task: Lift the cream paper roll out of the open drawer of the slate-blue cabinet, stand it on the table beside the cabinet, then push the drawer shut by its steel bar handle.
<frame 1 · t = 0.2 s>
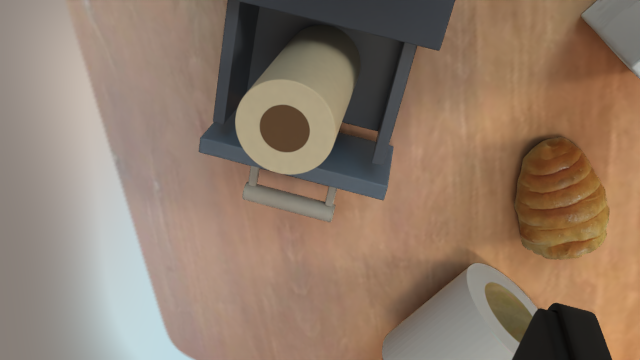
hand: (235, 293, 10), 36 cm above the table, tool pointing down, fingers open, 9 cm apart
toilet paper: (465, 308, 54), on the table
cosmetic box: (632, 22, 41), on the table
paper roll: (322, 63, 43), point 2 cm above the table, touching drawer
pastry: (553, 195, 47), on the table
drawer: (310, 105, 43), point 4 cm above the table, slide at 10.0 cm, touching paper roll
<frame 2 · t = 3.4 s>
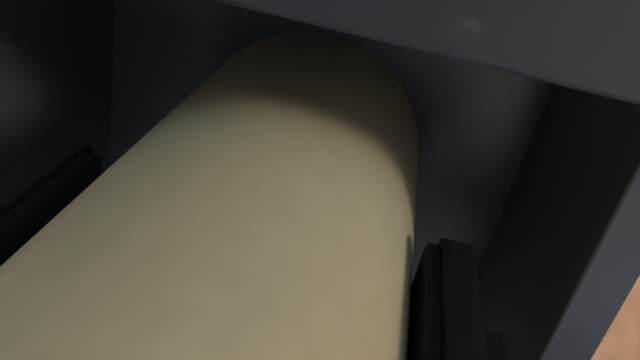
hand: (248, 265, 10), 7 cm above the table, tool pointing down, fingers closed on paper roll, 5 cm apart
paper roll: (306, 142, 15), point 2 cm above the table, touching drawer, gripper
drawer: (269, 272, 14), point 4 cm above the table, slide at 10.0 cm, touching paper roll
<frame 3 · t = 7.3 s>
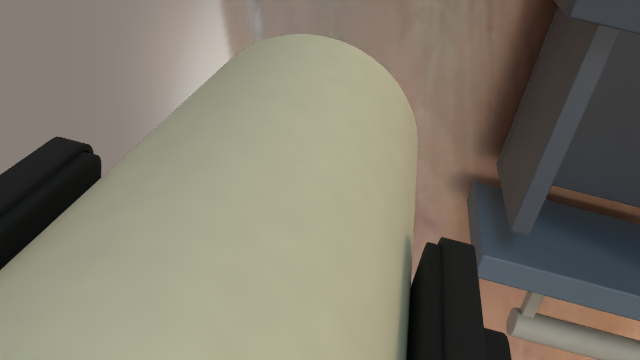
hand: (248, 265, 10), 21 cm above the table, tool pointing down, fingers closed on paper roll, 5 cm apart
paper roll: (306, 143, 15), point 15 cm above the table, touching gripper
when the fingers open (5 cm above the table, at t = 11.1 s): paper roll stays where it is, on the table.
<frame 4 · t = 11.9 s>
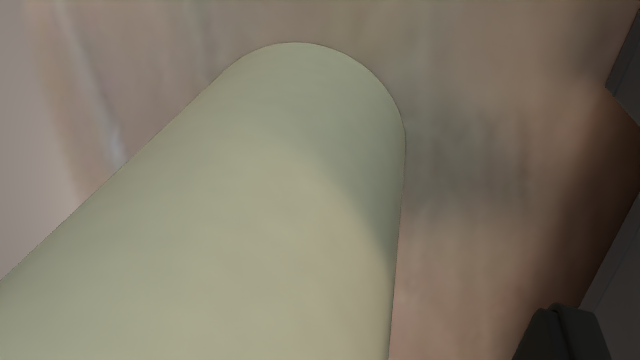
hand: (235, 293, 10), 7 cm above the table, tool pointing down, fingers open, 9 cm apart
paper roll: (300, 145, 16), on the table
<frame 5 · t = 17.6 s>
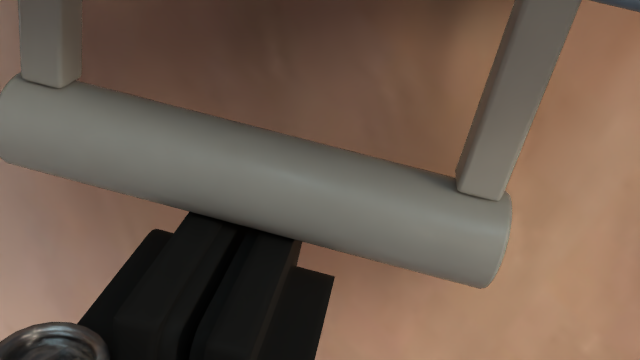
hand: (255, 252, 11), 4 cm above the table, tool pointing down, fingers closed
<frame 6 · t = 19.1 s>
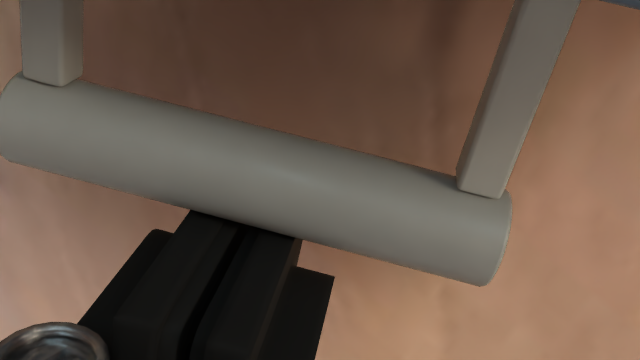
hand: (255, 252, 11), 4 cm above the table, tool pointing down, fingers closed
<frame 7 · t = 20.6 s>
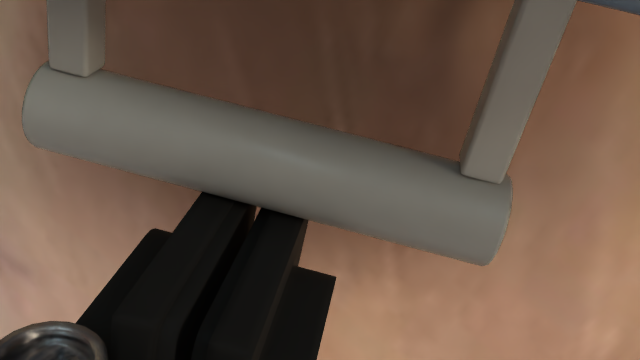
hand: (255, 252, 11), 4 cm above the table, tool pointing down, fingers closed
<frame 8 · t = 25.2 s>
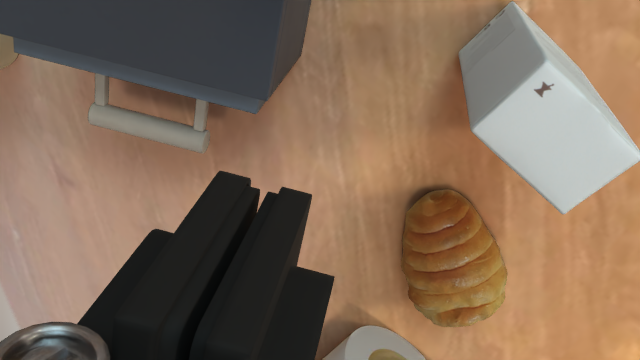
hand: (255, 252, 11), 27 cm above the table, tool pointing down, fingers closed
cosmetic box: (518, 60, 35), on the table
pastry: (447, 251, 42), on the table
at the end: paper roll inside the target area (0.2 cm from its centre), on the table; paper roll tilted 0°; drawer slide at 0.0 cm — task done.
